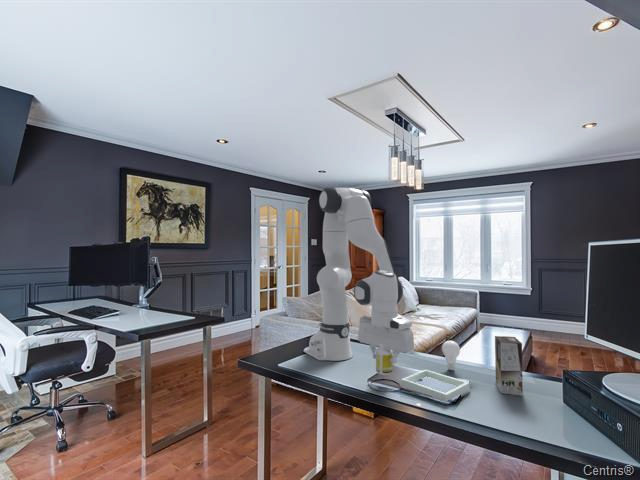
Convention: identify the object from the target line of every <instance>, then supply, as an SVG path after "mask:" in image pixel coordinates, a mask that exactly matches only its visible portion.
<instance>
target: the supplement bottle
mask: <svg viewBox="0 0 640 480" xmlns="http://www.w3.org/2000/svg"><path fill="white" fill-rule="evenodd" d="M393 355H394V354H393V350H389V349H385V348H384V346H383V344H379V347H378V348H376V359H375V361H376V362H375V364H376V365H375V370H376V373H377V374H378V375H383V376H389V375H392V373H393V372H394V371H393V367H394V366H393V365H394V364H392V363H390V358H391V357H393Z"/></svg>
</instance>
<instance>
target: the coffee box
mask: <svg viewBox="0 0 640 480" xmlns="http://www.w3.org/2000/svg"><path fill="white" fill-rule="evenodd" d="M494 357H495V358H494V359H495V360H494V361H495V362H494V363H495V385H496V386H497V388H498V390H499V391H500V394H505V395H513V396H523V393H524V391H523V390H524V389H523V387H524V386H523V343H522V342H521V341H520V340H519V339H517V337H515V336H505V335H504V336H502V335H501V336H499V335H495V336H494Z"/></svg>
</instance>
